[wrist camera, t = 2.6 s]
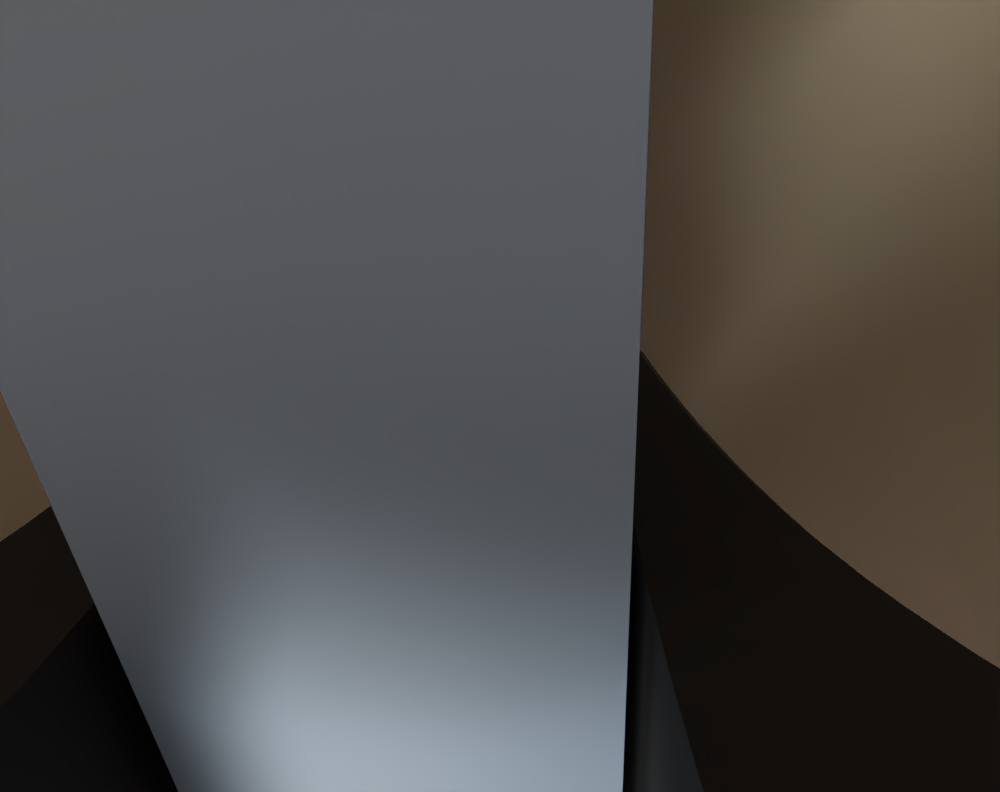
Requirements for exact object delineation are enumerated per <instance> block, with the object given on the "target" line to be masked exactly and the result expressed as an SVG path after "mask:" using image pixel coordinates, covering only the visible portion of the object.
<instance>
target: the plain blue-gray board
mask: <svg viewBox="0 0 1000 792" xmlns="http://www.w3.org/2000/svg"><path fill="white" fill-rule="evenodd" d="M652 19H653V0H0V392H1V394H2V396H3V399H4V401H5V403H6V405H7V408H8V410H9V412H10V414H11V417H12V419H13V421H14V423H15V426H16V428H17V430H18V432H19V435H20V437H21V439H22V441H23V444H24V446H25V448H26V450H27V453H28V455H29V457H30V459H31V462H32V464H33V466H34V468H35V471H36V473H37V475H38V477H39V480H40V482H41V484H42V486H43V489H44V491H45V493H46V495H47V498H48V500H49V502H50V504H51V506H52V509H53V511H54V513H55V515H56V518H57V520H58V522H59V524H60V527H61V529H62V531H63V533H64V536H65V538H66V540H67V542H68V545H69V547H70V549H71V551H72V554H73V556H74V558H75V560H76V563H77V565H78V567H79V569H80V572H81V574H82V576H83V578H84V581H85V583H86V585H87V587H88V590H89V592H90V594H91V596H92V599H93V601H94V603H95V605H96V608H97V610H98V612H99V614H100V617H101V619H102V621H103V623H104V626H105V628H106V630H107V632H108V635H109V637H110V639H111V641H112V644H113V646H114V648H115V650H116V653H117V655H118V657H119V659H120V662H121V664H122V666H123V668H124V671H125V673H126V675H127V677H128V680H129V682H130V684H131V686H132V689H133V691H134V693H135V695H136V698H137V700H138V702H139V704H140V707H141V709H142V711H143V713H144V715H145V718H146V720H147V722H148V724H149V727H150V729H151V731H152V733H153V736H154V738H155V740H156V742H157V745H158V747H159V749H160V751H161V754H162V756H163V758H164V760H165V763H166V765H167V767H168V769H169V772H170V774H171V776H172V778H173V781H174V783H175V785H176V787H177V790H178V792H622V791H623V765H624V739H625V714H626V688H627V662H628V637H629V611H630V585H631V559H632V534H633V508H634V482H635V457H636V431H637V405H638V379H639V354H640V328H641V302H642V276H643V251H644V225H645V199H646V174H647V148H648V122H649V96H650V71H651V45H652Z"/></svg>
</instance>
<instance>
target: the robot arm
mask: <svg viewBox="0 0 1000 792" xmlns="http://www.w3.org/2000/svg"><path fill="white" fill-rule="evenodd" d="M0 792H178V790H177V787H176V785H175V783H174V781H173V778H172V776H171V774H170V772H169V769H168V767H167V765H166V763H165V760H164V758H163V756H162V754H161V751H160V749H159V747H158V745H157V742H156V740H155V738H154V736H153V733H152V731H151V729H150V727H149V724H148V722H147V720H146V718H145V715H144V713H143V711H142V709H141V707H140V704H139V702H138V700H137V698H136V695H135V693H134V691H133V689H132V686H131V684H130V682H129V680H128V677H127V675H126V673H125V671H124V668H123V666H122V664H121V662H120V659H119V657H118V655H117V653H116V650H115V648H114V646H113V644H112V641H111V639H110V637H109V635H108V632H107V630H106V628H105V626H104V623H103V621H102V619H101V617H100V614H99V612H98V610H97V608H96V605H95V603H94V601H93V599H92V596H91V594H90V592H89V590H88V587H87V585H86V583H85V581H84V578H83V576H82V574H81V572H80V569H79V567H78V565H77V563H76V560H75V558H74V556H73V554H72V551H71V549H70V547H69V545H68V542H67V540H66V538H65V536H64V533H63V531H62V529H61V527H60V524H59V522H58V520H57V518H56V515H55V513H54V511H53V509H52V506H50V507H49V508H47V509H46V510H44V511H43V512H42V513H40V514H39V515H38V516H36V517H35V518H34V519H32V520H31V521H30V522H28V523H27V524H25V525H24V526H23V527H21V528H20V529H18V530H17V531H15V532H14V533H13V534H11V535H10V536H8V537H7V538H5V539H4V540H2V541H1V542H0ZM622 792H1000V669H999V668H998V667H996V666H994V665H993V664H991V663H990V662H988V661H986V660H985V659H983V658H981V657H980V656H978V655H977V654H975V653H974V652H972V651H970V650H969V649H967V648H966V647H964V646H963V645H961V644H960V643H958V642H957V641H955V640H954V639H952V638H951V637H949V636H948V635H946V634H945V633H943V632H942V631H941V630H939V629H938V628H936V627H935V626H933V625H932V624H930V623H929V622H927V621H926V620H924V619H923V618H921V617H920V616H918V615H917V614H915V613H914V612H912V611H911V610H909V609H908V608H906V607H905V606H903V605H902V604H900V603H899V602H898V601H896V600H895V599H893V598H892V597H891V596H889V595H888V594H887V593H885V592H884V591H882V590H881V589H880V588H878V587H877V586H875V585H874V584H873V583H871V582H870V581H869V580H867V579H866V578H865V577H863V576H862V575H861V574H859V573H858V572H857V571H856V570H854V569H853V568H852V567H851V566H849V565H848V564H847V563H846V562H844V561H843V560H842V559H840V558H839V557H838V556H837V555H835V554H834V553H833V552H832V551H830V550H829V549H828V548H827V547H825V546H824V545H823V544H822V543H820V542H819V541H818V540H817V539H815V538H814V537H813V536H812V535H810V534H809V533H808V532H807V531H806V530H805V529H804V528H802V527H801V526H800V525H799V524H798V523H797V522H796V521H795V520H794V519H792V518H791V517H790V516H789V515H788V514H787V513H786V512H785V511H784V510H783V509H781V508H780V507H779V506H778V505H777V504H776V503H775V502H774V501H773V500H772V499H771V498H770V497H769V496H768V495H767V494H766V493H765V492H764V491H763V490H761V489H760V488H759V487H758V486H757V485H756V484H755V483H754V482H753V481H752V480H751V479H750V478H749V477H748V476H747V475H746V474H745V473H744V472H743V471H742V470H741V469H740V468H739V467H738V466H737V465H736V464H735V463H734V462H733V460H732V459H731V458H730V457H729V456H728V455H727V454H726V453H725V452H724V451H723V450H722V448H721V447H720V446H719V445H718V444H717V443H716V442H715V441H714V440H713V439H712V438H711V436H710V435H709V434H708V433H707V432H706V431H705V430H704V429H703V428H702V427H701V426H700V424H699V423H698V422H697V421H696V420H695V419H694V417H693V416H692V415H691V414H690V413H689V412H688V410H687V409H686V408H685V407H684V406H683V404H682V403H681V402H680V401H679V399H678V398H677V397H676V396H675V395H674V393H673V392H672V391H671V390H670V388H669V387H668V386H667V384H666V383H665V382H664V381H663V379H662V378H661V377H660V375H659V374H658V373H657V371H656V370H655V369H654V367H653V366H652V365H651V363H650V362H649V360H648V359H647V358H646V356H645V355H644V353H643V352H642V351H640V354H639V379H638V405H637V431H636V457H635V482H634V508H633V534H632V559H631V585H630V611H629V637H628V662H627V688H626V714H625V739H624V765H623V791H622Z"/></svg>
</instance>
